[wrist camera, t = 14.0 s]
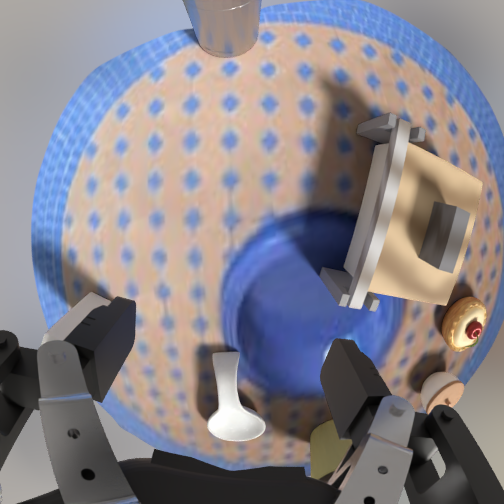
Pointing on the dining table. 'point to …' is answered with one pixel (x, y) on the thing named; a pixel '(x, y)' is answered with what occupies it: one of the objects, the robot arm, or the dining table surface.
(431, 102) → the dining table surface
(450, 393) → the lidded jar
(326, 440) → the potted cactus
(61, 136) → the dining table surface
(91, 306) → the milk carton
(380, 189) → the door
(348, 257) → the white open box
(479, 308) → the pastry
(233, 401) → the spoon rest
